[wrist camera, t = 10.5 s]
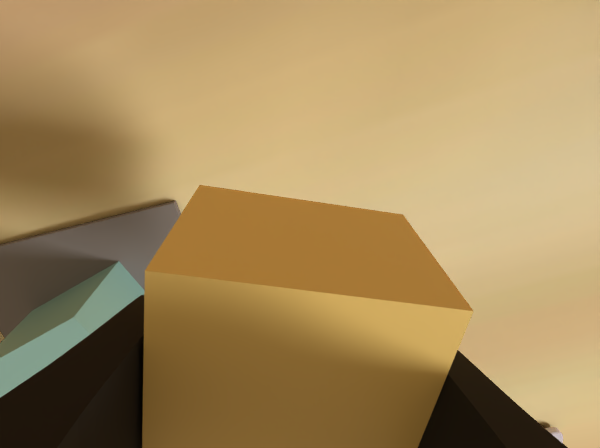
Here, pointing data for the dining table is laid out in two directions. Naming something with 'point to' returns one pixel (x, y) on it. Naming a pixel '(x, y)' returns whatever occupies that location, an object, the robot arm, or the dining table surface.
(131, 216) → the mat
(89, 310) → the teal brick
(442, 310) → the mustard brick
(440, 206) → the dining table surface
